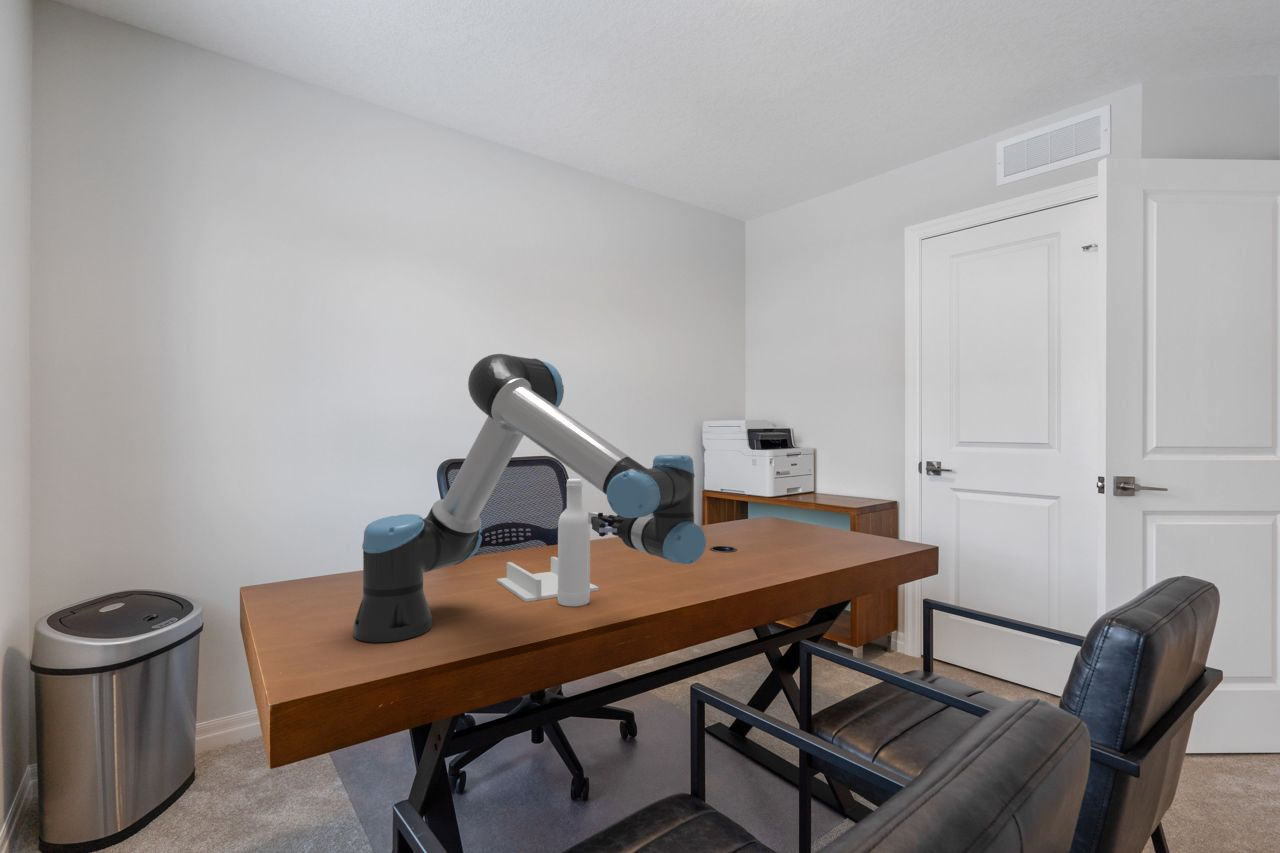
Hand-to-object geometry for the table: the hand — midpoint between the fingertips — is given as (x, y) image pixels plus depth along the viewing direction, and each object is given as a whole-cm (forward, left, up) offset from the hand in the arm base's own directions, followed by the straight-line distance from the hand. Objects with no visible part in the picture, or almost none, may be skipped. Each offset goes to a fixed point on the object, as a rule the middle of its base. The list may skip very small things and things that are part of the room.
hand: (591, 517), depth 137 cm
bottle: (-6, +6, -22) cm, 24 cm away
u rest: (-18, +18, -22) cm, 34 cm away
